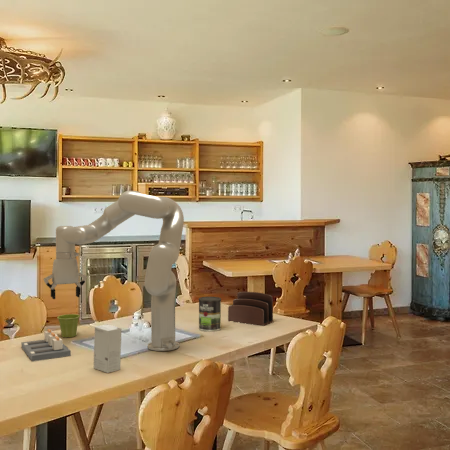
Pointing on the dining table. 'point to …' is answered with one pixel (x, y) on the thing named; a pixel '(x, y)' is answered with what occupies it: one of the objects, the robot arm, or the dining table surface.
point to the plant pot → (68, 324)
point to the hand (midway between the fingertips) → (65, 297)
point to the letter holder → (252, 308)
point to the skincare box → (107, 348)
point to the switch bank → (43, 350)
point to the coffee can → (209, 313)
